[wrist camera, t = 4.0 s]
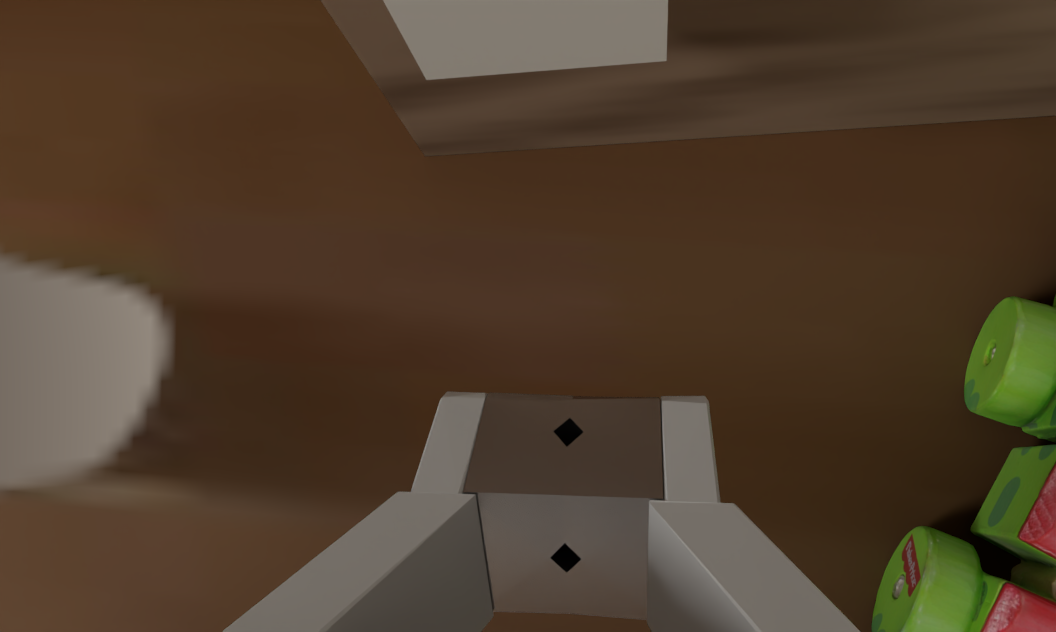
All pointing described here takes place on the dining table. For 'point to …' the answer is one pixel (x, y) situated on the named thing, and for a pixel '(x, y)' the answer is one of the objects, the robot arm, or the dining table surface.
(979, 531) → the toy crocodile
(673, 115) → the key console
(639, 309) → the dining table surface
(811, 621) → the robot arm
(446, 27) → the grey block
